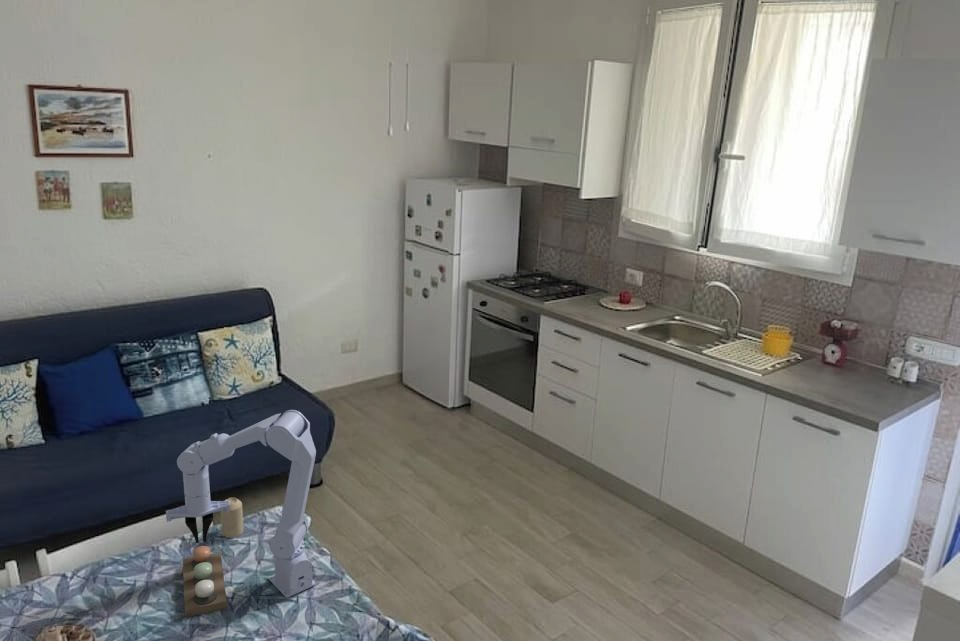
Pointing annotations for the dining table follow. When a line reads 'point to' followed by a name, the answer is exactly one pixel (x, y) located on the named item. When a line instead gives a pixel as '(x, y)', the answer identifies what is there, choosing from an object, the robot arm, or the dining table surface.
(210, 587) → the button cream
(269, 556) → the dining table surface
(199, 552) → the button terracotta
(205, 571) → the button sage
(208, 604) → the button panel
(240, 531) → the candle
